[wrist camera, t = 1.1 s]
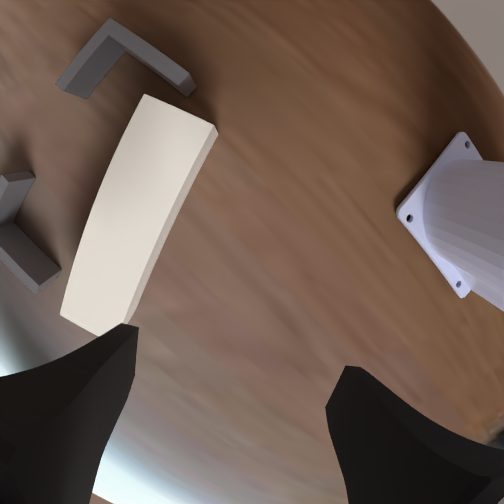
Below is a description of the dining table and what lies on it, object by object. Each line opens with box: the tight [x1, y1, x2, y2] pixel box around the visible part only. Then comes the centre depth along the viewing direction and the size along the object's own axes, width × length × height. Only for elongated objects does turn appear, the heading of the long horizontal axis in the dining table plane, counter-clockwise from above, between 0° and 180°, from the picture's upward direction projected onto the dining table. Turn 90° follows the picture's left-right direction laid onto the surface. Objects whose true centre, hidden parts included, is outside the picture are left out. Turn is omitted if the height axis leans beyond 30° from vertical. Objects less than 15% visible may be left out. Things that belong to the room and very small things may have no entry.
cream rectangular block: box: [60, 94, 219, 336], centre depth 16 cm, size 4×12×4 cm, turn 152°
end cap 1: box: [0, 171, 62, 295], centre depth 16 cm, size 6×4×3 cm
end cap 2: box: [55, 18, 196, 99], centre depth 14 cm, size 6×4×3 cm
